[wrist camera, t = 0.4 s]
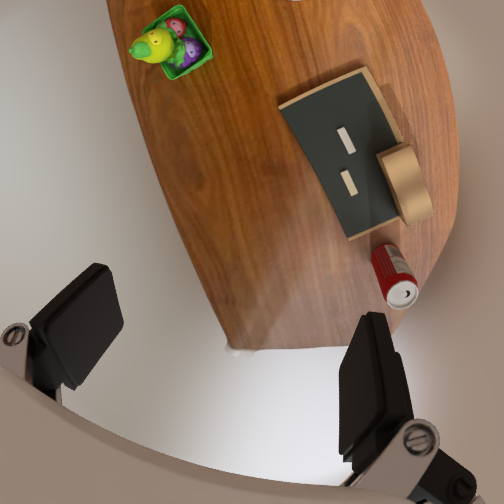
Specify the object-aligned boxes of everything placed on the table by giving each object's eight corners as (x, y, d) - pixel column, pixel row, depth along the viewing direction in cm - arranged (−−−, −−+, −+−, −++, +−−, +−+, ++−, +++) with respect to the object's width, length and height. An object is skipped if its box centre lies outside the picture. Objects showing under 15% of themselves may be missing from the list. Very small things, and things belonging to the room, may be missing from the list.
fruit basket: (224, 59, 35) (198, 43, 25) (178, 88, 38) (141, 84, 28) (193, 11, 31) (161, -11, 21) (150, 40, 34) (111, 29, 24)
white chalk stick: (336, 130, 36) (336, 130, 36) (343, 126, 36) (344, 126, 35) (348, 154, 38) (349, 154, 37) (355, 150, 37) (356, 151, 37)
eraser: (373, 153, 37) (381, 158, 33) (401, 141, 35) (411, 144, 31) (398, 216, 40) (407, 227, 36) (424, 204, 38) (434, 214, 34)
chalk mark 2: (340, 172, 39) (340, 173, 39) (347, 169, 39) (347, 169, 38) (351, 195, 40) (351, 196, 40) (357, 192, 40) (358, 193, 40)
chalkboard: (278, 106, 37) (277, 106, 36) (364, 66, 31) (366, 65, 31) (348, 238, 45) (348, 241, 44) (425, 204, 39) (427, 206, 38)
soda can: (371, 271, 47) (384, 314, 36) (370, 244, 44) (385, 283, 34) (399, 267, 45) (418, 309, 35) (400, 240, 43) (422, 278, 32)
